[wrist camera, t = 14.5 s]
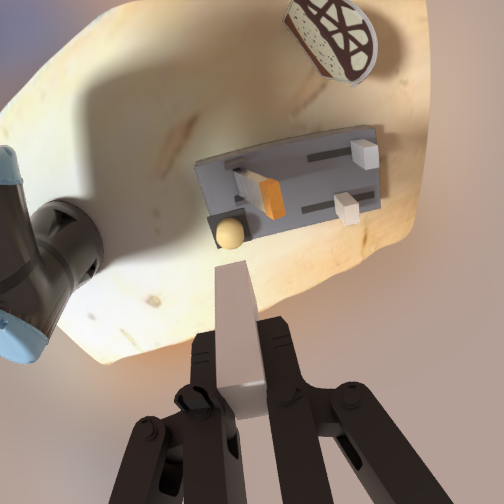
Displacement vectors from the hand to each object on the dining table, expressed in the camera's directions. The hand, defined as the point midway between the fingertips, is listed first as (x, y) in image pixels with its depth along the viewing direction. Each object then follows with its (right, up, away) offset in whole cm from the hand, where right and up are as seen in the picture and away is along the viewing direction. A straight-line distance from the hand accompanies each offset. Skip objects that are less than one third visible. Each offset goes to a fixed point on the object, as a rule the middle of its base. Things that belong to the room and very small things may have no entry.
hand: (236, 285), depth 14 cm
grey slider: (+15, +15, +20) cm, 29 cm away
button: (-2, +5, +25) cm, 26 cm away
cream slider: (+13, +9, +24) cm, 29 cm away
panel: (+6, +12, +25) cm, 28 cm away
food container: (+10, +29, +15) cm, 34 cm away
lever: (-1, +10, +21) cm, 23 cm away
